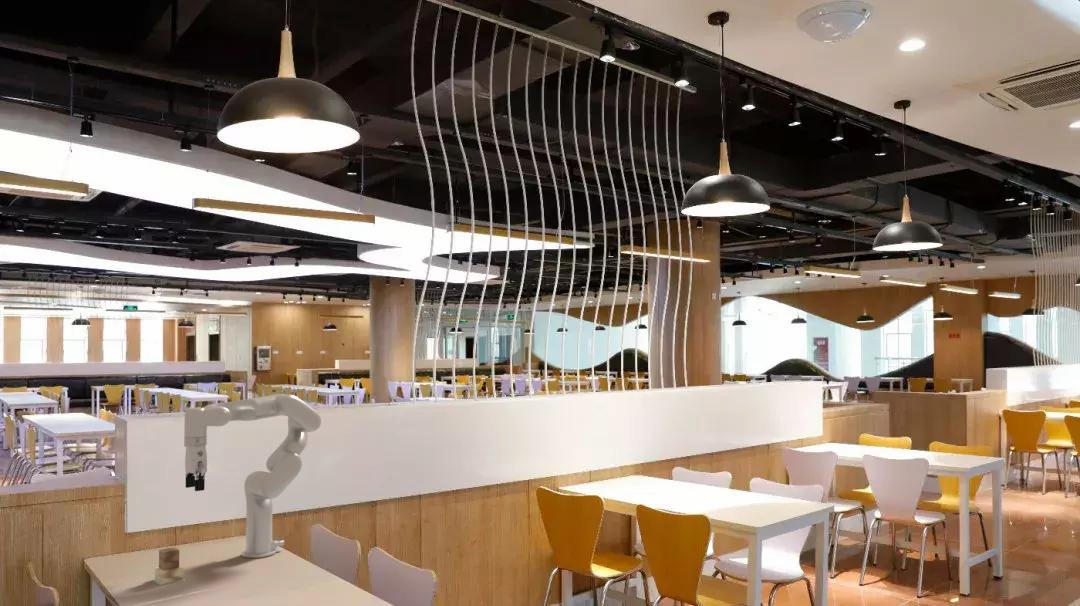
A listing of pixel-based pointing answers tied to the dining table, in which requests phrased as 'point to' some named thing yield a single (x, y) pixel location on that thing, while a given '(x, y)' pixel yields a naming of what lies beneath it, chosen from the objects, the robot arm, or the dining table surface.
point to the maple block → (168, 575)
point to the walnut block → (169, 558)
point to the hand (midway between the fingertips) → (194, 488)
